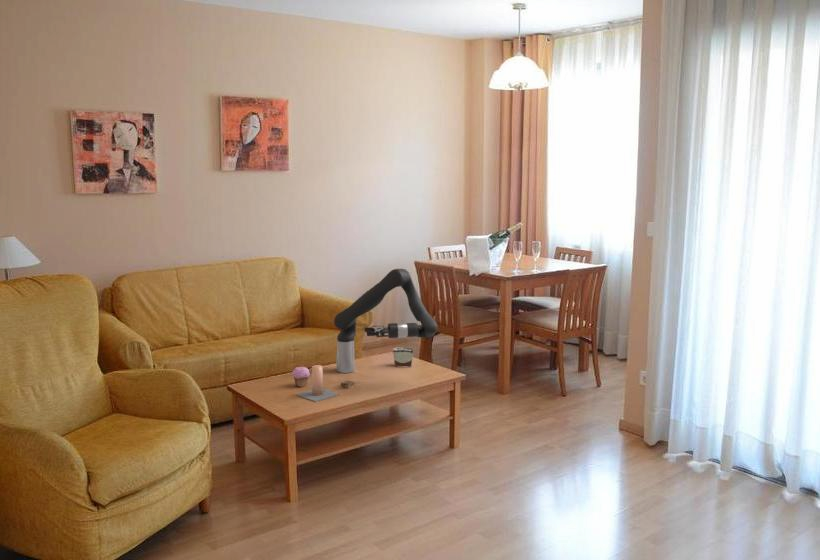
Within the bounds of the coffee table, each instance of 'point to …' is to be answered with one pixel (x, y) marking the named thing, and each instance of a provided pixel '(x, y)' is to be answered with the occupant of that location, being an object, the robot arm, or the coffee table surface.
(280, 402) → the coffee table surface
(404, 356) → the food container
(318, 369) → the terracotta canister
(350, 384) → the walnut block
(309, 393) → the charcoal mat
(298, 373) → the cupcake
